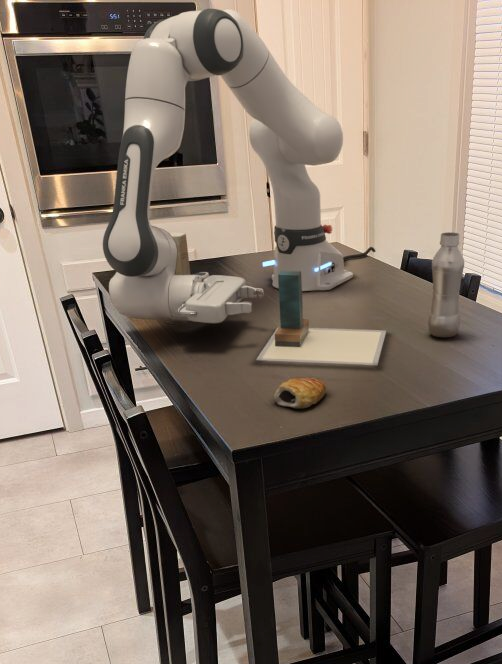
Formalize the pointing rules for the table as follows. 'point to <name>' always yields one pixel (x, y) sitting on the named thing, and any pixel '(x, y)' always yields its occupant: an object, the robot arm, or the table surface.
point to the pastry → (300, 392)
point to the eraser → (291, 310)
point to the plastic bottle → (446, 287)
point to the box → (181, 254)
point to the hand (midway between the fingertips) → (257, 300)
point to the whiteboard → (330, 347)
